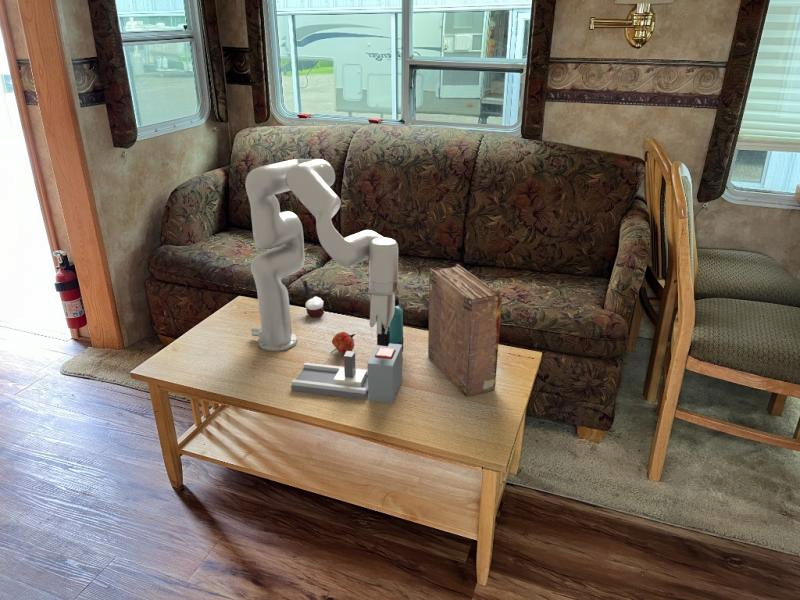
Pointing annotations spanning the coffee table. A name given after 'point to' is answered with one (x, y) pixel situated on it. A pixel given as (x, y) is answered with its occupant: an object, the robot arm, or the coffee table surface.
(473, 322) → the book
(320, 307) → the cocoa
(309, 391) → the rail bed
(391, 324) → the beverage bottle
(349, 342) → the pomegranate
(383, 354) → the button
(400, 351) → the button cabinet
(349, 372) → the carriage
